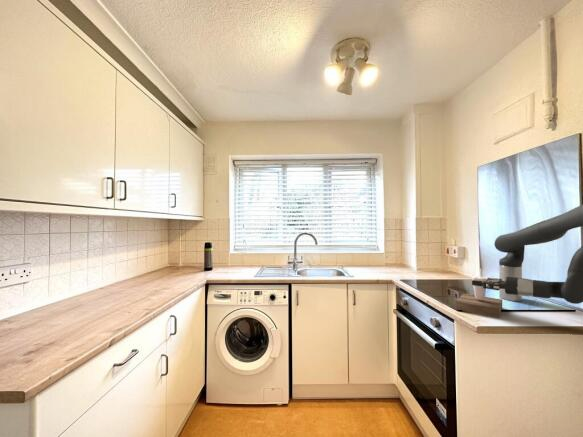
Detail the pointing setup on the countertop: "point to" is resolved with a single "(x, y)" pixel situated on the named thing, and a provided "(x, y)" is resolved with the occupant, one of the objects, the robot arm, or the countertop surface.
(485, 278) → the smoothie
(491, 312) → the plinth
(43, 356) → the countertop surface
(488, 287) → the robot arm
